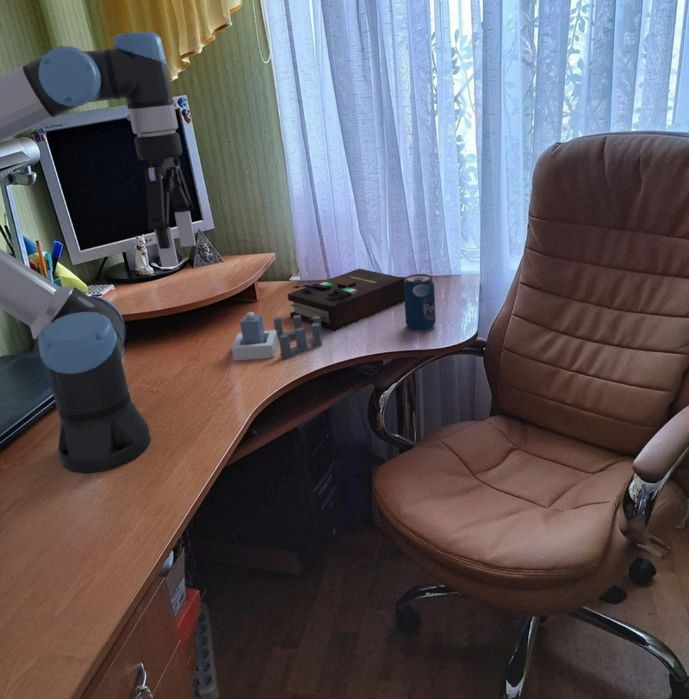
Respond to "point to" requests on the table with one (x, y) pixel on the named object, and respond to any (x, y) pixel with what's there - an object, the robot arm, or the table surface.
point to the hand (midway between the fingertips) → (179, 255)
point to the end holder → (255, 347)
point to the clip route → (297, 336)
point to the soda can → (419, 302)
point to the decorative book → (347, 298)
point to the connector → (252, 329)
